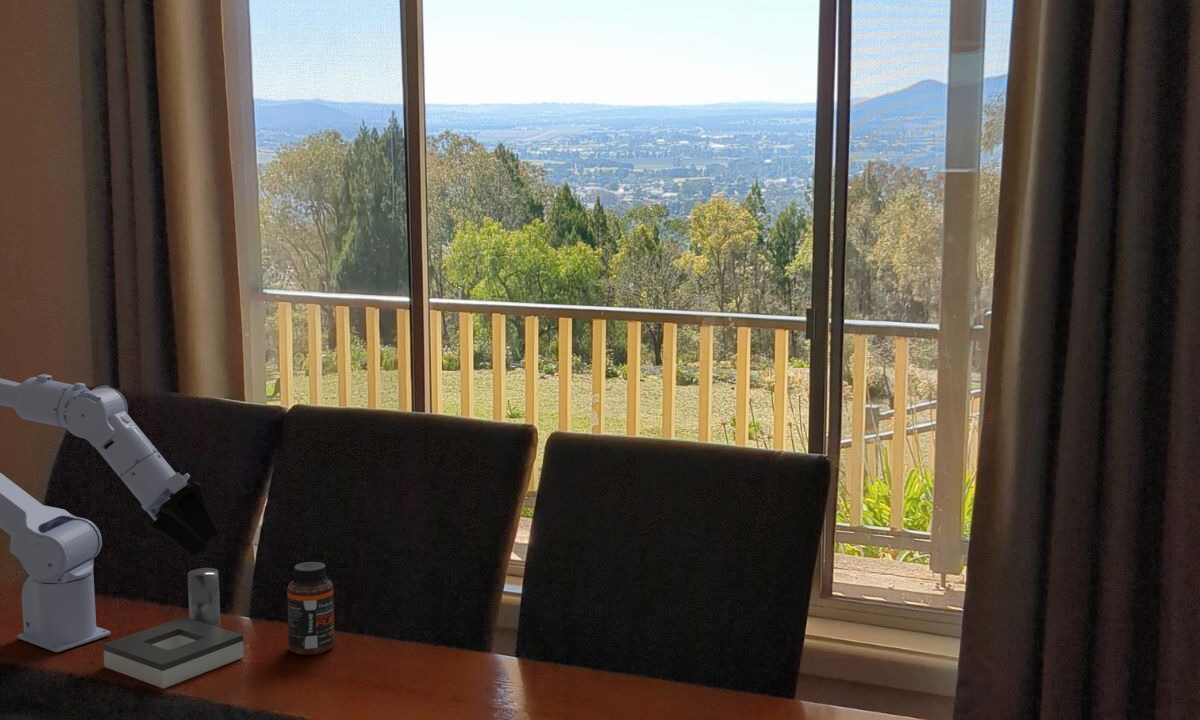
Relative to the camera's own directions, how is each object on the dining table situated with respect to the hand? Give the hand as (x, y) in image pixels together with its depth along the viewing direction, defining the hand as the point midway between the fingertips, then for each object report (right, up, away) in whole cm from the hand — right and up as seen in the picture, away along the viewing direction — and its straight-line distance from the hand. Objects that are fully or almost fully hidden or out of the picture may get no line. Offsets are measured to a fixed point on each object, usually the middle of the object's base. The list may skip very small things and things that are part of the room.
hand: (205, 545), depth 151 cm
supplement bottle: (+14, -14, +1) cm, 20 cm away
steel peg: (-3, -13, +8) cm, 15 cm away
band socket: (-3, -14, -4) cm, 15 cm away
